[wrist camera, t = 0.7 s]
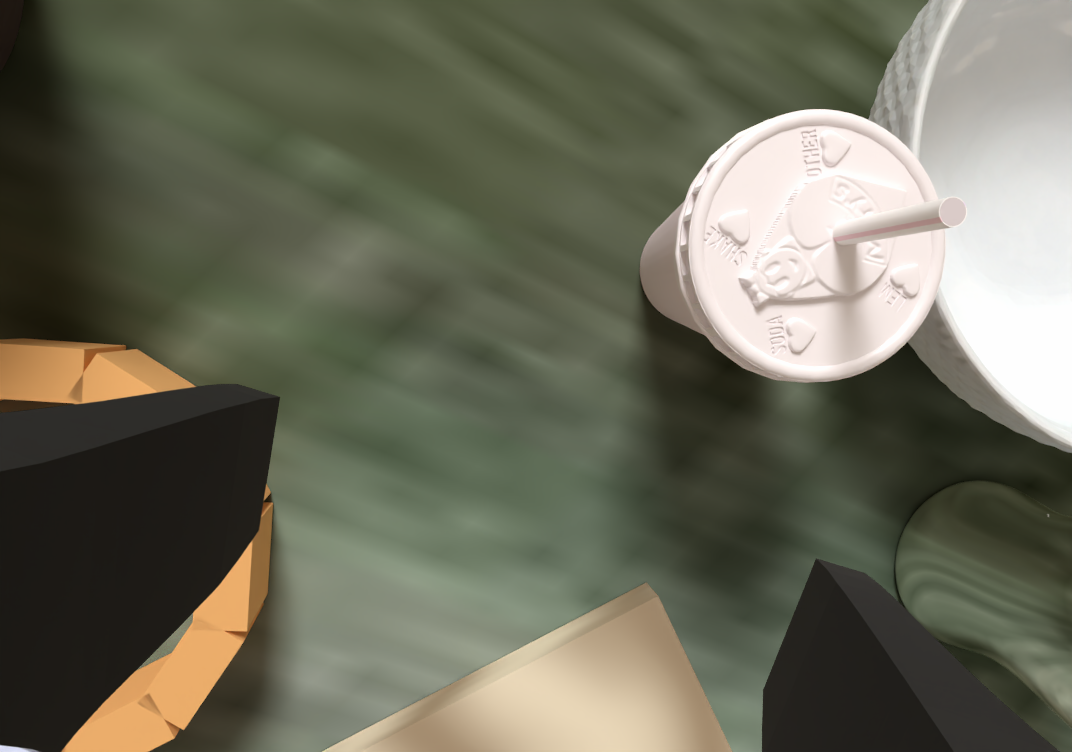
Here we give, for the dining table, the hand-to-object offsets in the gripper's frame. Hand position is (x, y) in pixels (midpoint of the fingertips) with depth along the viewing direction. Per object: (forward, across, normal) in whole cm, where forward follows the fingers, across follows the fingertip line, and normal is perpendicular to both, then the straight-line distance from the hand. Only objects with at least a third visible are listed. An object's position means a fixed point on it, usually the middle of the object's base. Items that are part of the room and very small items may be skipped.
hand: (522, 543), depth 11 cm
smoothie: (+20, -2, 0) cm, 20 cm away
